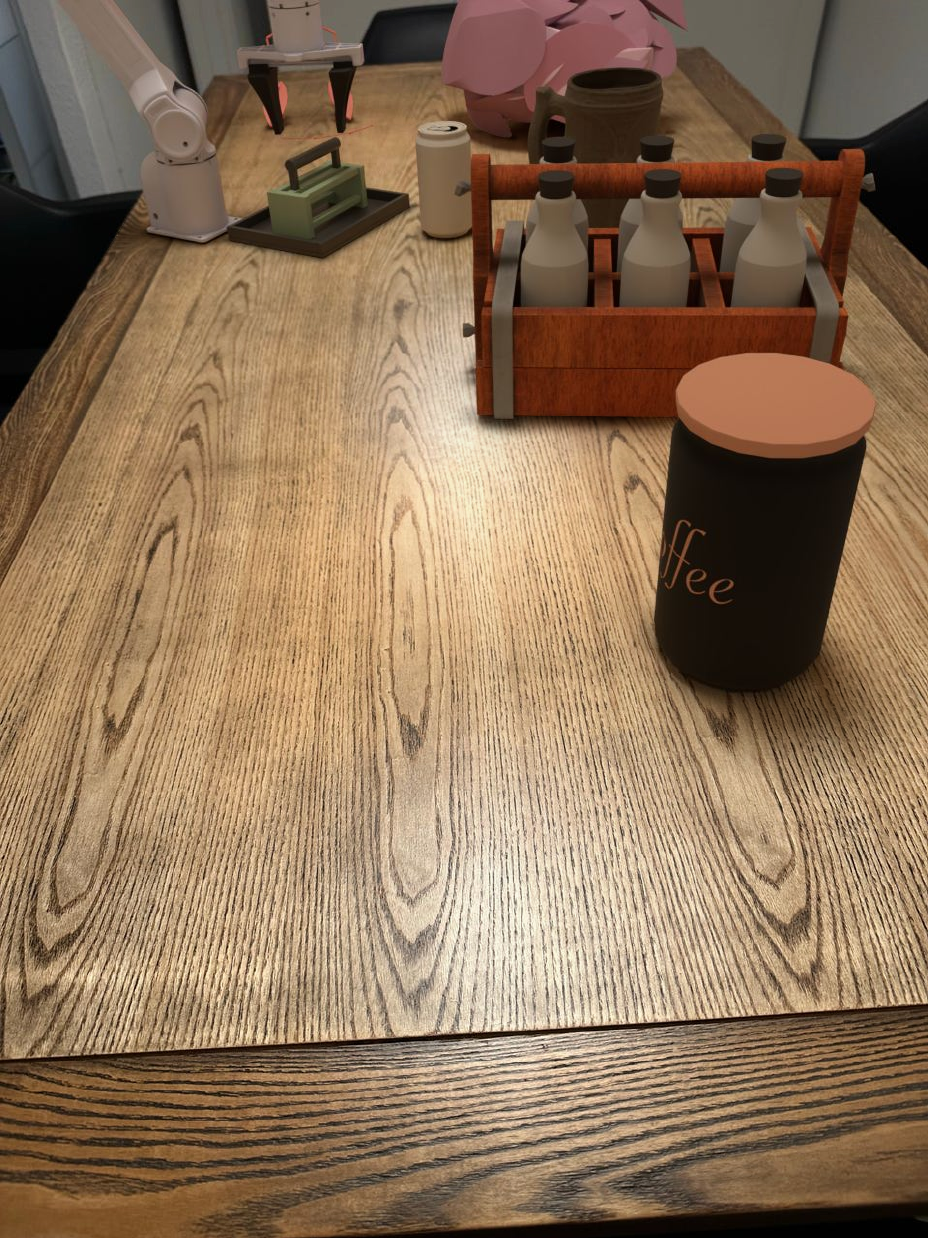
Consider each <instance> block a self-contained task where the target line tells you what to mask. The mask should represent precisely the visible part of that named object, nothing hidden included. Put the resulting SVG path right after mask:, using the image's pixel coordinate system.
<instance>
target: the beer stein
mask: <svg viewBox="0 0 928 1238" xmlns="http://www.w3.org/2000/svg"><path fill="white" fill-rule="evenodd" d="M662 79H663V78H661V76H660V75H659V74H658V73H656V72H654V71H651V70H647V69H642V68H627V67H616V68H601V69H593V70H588V71H583V72H580V73H577V74H574V75H573V76H571V77H570V78H569V80H568V82H567V88H566V92H565V96H562V95H559V94H557V93H555V91H554V90H553V89H552V87H549V86H547V87H538V88H536V103H535V109H534V113H533V116H532V120H531V123H529V124H530V125H529V129H528V134H527V155H528V164H539V163H540V159H541V158H542V157H543V149H542V141H543V140H544V139H547V138H548V126H549V123H550V121H551V120H552V119H551V117H553V116H554V115H558V116H562V117H564V118H565V123H564V136H563V137H568V138H572V139H574V140H575V141H576V142H575V148H574V154H573V156H574V157H575V158H576V160H577V164H596V163H637V159H638V157H639V156H640V155H641V147H640V140H641V138H644V137H647V136H655V135H659V126H660V118H661V111H662V103H663V100H664V94H665V93H664V88H663V80H662ZM550 119H551V120H550ZM581 201H582V203H583V206H584V208H585V210H586V213H587V216H588V225H589V226H588V228H619V224H620V219H621V215H622V213H623V211H624V209H625V206H626V204H627V203H628V201H629V199H581Z"/></svg>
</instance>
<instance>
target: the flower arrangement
mask: <svg viewBox="0 0 928 1238" xmlns="http://www.w3.org/2000/svg"><path fill="white" fill-rule="evenodd" d="M654 14H655V15H656V16H659V17H661V18H662V19H664V20H666V21H667V22H669V23H671V24H673V25H675V26H676V27H678V28H680V29H682V30H684V31H686V32H689V28H688V24H687V18H686V13H685V9H684V4H683V0H458V1H457V4H456V7H455V9H454V12H453V16H452V19H451V22H450V25H449V28H448V29H449V30H448V33H447V36H446V41H445V45H444V49H443V54H442V63H441V72H440V73H441V74H440V75H441V76H440V80H441V85H445V86H449V87H452V88H455V89H460V90H463V97H464V102H465V107H466V111H467V114H468V117H469V118H470V120H471V122H472V123H473V125H475V126H476V127H477V128H478V129H479V130H481V131H483V132H485V133H486V134H487V133H488V134H490V135H493V136H497V137H500V138H511V137H512V132H511V129H510V127H509V126H508V123H507V122H506V120H510V121H512V122H518V123H529V124H531V120H532V116H533V113H534V109H535V103H536V88H538V87H547V86H549V87H552V89H553V90H554V91H555V93H557V94H559V95H562V96H565V92H566V88H567V82H568V80H569V78H570V77H571V76H573V75H574V74H577V73H580V72H583V71H588V70H593V69H601V68H616V67H627V68H642V69H647V70H651V71H654V72H656V73H658V74H659V75H660V76H661V79H664V78H668V77H670V76H671V75H672V74H673V73H674V72H675V70H676V68H677V63H678V62H677V61H678V55H677V48H676V44H675V42H674V38H673V37H672V35H671V33H670V32H669V30H668V29H667V28H666V26H665V25H663V24H662V23H661V22H660V21H659V19H658V18H657V17H656V16H655V15H654ZM551 120H554V121H557V122H560V123H563V124H565V118H564V117H562V116H558V115H554V116H553V117H551V119H550V120H549V121H551Z"/></svg>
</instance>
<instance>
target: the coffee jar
mask: <svg viewBox="0 0 928 1238" xmlns="http://www.w3.org/2000/svg"><path fill="white" fill-rule="evenodd" d="M676 406H677V412H678V417H676V418H677V419H676V421H675V422H674V424H673V426H672V429H671V433H670V443H669V444H670V445H669V453H668V455H669V456H668V466H667V476H666V485H665V496H664V497H665V498H664V507H663V508H664V509H663V517H662V518H663V520H662V529H661V539H660V540H661V541H660V552H659V560H658V561H659V562H658V571H657V581H656V582H657V583H656V592H655V601H654V603H655V604H654V613H653V625H654V634H655V638H656V640H657V642H658V644H659V646H660V647H661V649H662V650H663V652H664V654H665V655H666V657H667V658H668V659H669V660H670V663H671V664H672V665H673V666H675V668H677V669H678V670H679V671H681V673H683V674H684V675H685V676H687V678H689V679H692V680H694V681H696V682H698V683H699V684H703V685H705V686H707V687H710V688H714V689H717V690H722V691H726V692H731V693H760V692H764V691H770V690H773V689H778V688H780V687H782V686H784V685H786V684H788V683H790V682H792V681H795V680H796V679H797V678H798V677H799V676H801V675H803V674H804V673H805V672H806V671H807V670H808V669H809V668H810V667H811V666H812V665H813V664H814V662H815V661H816V660H817V659H818V657H819V656H820V655H821V650H822V645H823V641H824V637H825V633H826V627H827V624H828V618H829V615H830V612H831V611H830V610H831V607H832V606H831V605H832V602H833V597H834V592H835V588H836V585H837V579H838V575H839V571H840V566H841V561H842V558H843V554H844V550H845V549H844V548H845V544H846V540H847V536H848V531H849V526H850V522H851V518H852V514H853V510H854V504H855V500H856V496H857V491H858V487H859V483H860V479H861V474H862V469H863V465H864V460H865V456H866V452H867V449H868V448H867V447H868V446H867V439H866V437H865V435H867V433H868V432H869V431H870V428H871V426H872V422H873V419H874V415H875V411H876V407H877V402H876V400H875V398H874V396H873V394H872V391H871V389H870V387H868V385H866V384H865V383H863V381H861V380H860V379H859V378H858V377H857V376H855V375H854V374H852V373H850V372H848V371H846V370H845V371H844V370H842V369H840V368H838V367H836V366H834V365H832V364H828V363H825V362H821V361H817V360H814V359H810V358H807V357H802V356H794V355H786V354H779V353H745V354H738V355H731V356H725V357H719V358H717V359H714V360H711V361H708V362H705V363H702V364H700V365H698V366H696V367H695V368H693V369H692V370H691V371H689V372H688V373H686V374H685V375H684V376H683V378H682V379H681V381H680V383H679V385H678V387H677V389H676Z"/></svg>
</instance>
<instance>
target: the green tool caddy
mask: <svg viewBox="0 0 928 1238" xmlns="http://www.w3.org/2000/svg"><path fill="white" fill-rule="evenodd" d="M341 146H342V142H341V139H339V138H338V136H333V137H330V138H329V139H327V140H325V141H322V142H321V143H319V144H317V145H315V146H313V147H310V148H308V149H307V150H305V151H303V152H301V153H299V154H296V155H295V156H293V157H291V158H289V159H287V160H285V162H284V167H285V170H286V171H287V172H288V179H289V181H287V182H285V183H284V184H281V185H279V186H277V187H276V188H273V189H272V188H271V189H269V190H267V191H266V196H267V204H268V206H269V211H270V217H271V224H272V230H273V233H275V234H281V235H286V236H292V237H298V238H304V239H312V238H314V237H315V234H314V228H316V227H318V226H319V225H321V224H323V223H325V222H326V221H328V220H330V219H331V218H333V217H335V216H337V215H338V214H340V213H342V212H344V211H345V210H347V209H349V208H350V207H352V206H354V207H361V208H365V207H366V206H368V203H367V192H366V187H367V184H366V173H365V165H363V164H355V163H347V162H341V154H340V148H341ZM329 154H330V157H331V160H326V161H324V162H323V163H322V164H320V165H318V166H316V167H315V168H313V169H311V170H309V171H307V172H305V173H303V174H301V175H299V172H298V170H299V169H301V168H303V167H305V166H307V165H310V164H312V163H313V162H315V161H317V160H319V159H321V158H323V157H325V156H327V155H329ZM324 192H325V193H324ZM322 193H323V194H322ZM320 194H321V195H320ZM315 197H316V198H315ZM313 198H314V199H313ZM311 199H312V200H311ZM326 202H328V203H334V204H337V205H335V206H333V207H331V208H330V209H328V210H326V211H324V212H322V213H321V214H319V215H317V216H315V217H314V218H312V210H314V209H315V208H317V207H319V206H321V205H323V204H324V203H326Z"/></svg>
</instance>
